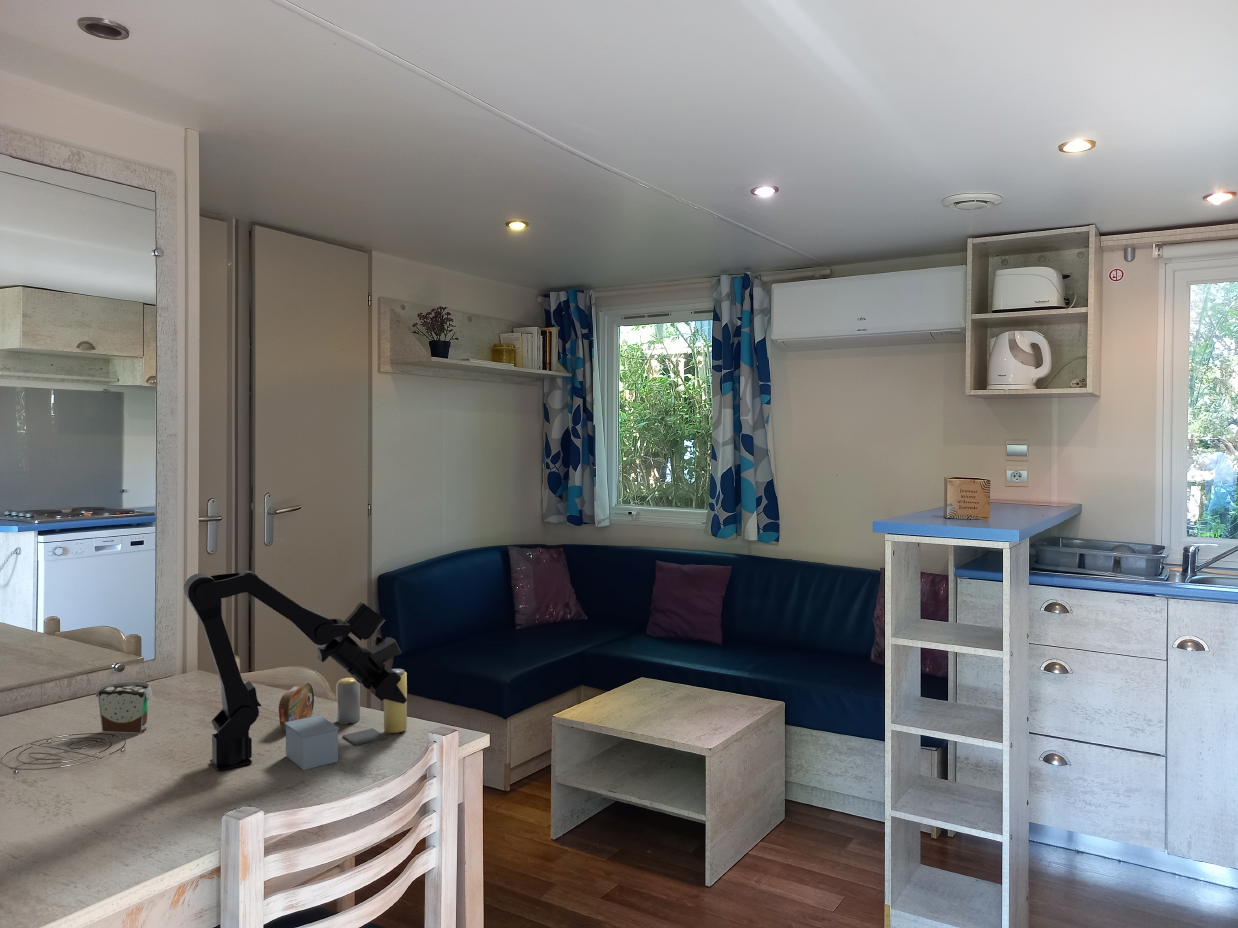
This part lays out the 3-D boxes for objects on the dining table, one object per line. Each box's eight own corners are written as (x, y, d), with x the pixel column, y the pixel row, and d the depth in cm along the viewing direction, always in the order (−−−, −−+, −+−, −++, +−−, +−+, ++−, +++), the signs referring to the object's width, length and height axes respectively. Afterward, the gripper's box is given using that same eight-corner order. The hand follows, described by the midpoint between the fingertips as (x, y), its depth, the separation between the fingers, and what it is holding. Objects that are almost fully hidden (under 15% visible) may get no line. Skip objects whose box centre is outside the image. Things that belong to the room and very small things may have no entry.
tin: (290, 734, 190) (289, 697, 190) (276, 734, 190) (275, 697, 190) (315, 713, 205) (315, 678, 205) (302, 713, 205) (302, 678, 205)
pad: (355, 745, 183) (355, 743, 183) (342, 736, 189) (342, 735, 189) (386, 738, 188) (386, 736, 188) (372, 729, 193) (372, 728, 193)
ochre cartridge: (389, 734, 189) (389, 675, 188) (380, 728, 193) (379, 670, 192) (410, 729, 192) (410, 671, 192) (400, 723, 196) (400, 666, 195)
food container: (164, 724, 197) (164, 681, 197) (147, 733, 191) (146, 689, 190) (114, 722, 198) (114, 680, 198) (95, 731, 192) (95, 687, 192)
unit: (303, 770, 170) (302, 735, 169) (284, 755, 178) (284, 722, 177) (339, 761, 174) (339, 727, 174) (319, 747, 182) (319, 714, 182)
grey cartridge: (342, 725, 196) (342, 684, 196) (334, 720, 200) (333, 679, 200) (363, 721, 199) (363, 680, 199) (354, 715, 203) (354, 675, 203)
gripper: (391, 635, 182) (440, 679, 188) (365, 620, 197) (411, 661, 204) (354, 678, 178) (406, 721, 184) (330, 658, 193) (378, 699, 199)
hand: (401, 698), depth 193 cm, fingers closed on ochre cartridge, 5 cm apart
